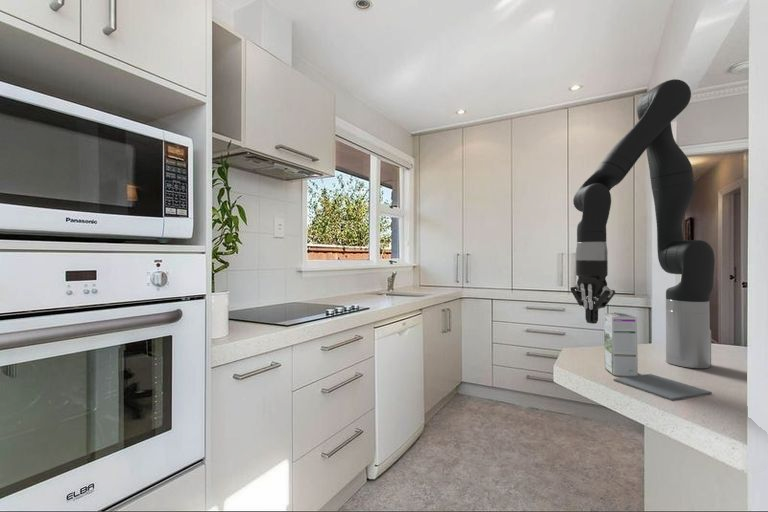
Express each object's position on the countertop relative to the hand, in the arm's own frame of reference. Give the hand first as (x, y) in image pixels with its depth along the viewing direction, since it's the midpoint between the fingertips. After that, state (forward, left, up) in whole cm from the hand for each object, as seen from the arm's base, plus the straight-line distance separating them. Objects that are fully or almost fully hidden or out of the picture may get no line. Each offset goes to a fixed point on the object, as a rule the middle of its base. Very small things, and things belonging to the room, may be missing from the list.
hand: (591, 323), depth 103 cm
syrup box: (0, +9, -11) cm, 14 cm away
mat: (+1, +19, -11) cm, 22 cm away
